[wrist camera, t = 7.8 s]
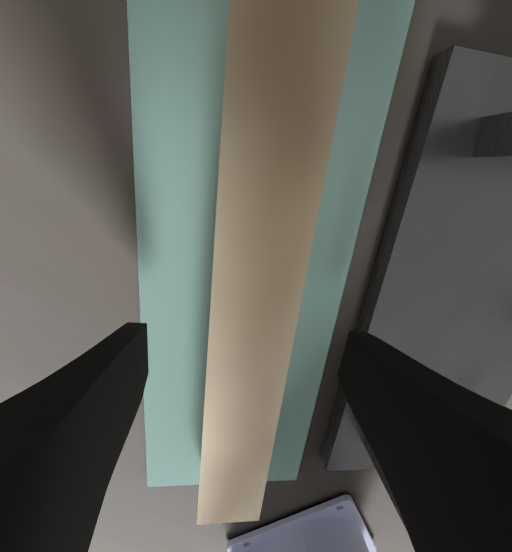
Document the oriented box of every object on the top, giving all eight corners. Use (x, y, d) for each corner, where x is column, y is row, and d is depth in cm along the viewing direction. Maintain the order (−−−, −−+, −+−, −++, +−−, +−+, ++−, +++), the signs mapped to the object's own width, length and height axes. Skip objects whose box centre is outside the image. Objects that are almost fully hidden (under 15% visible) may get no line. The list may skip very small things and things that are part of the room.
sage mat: (149, 477, 17) (147, 486, 16) (128, -72, 8) (122, -87, 8) (294, 471, 18) (296, 480, 18) (409, -7, 9) (419, -15, 9)
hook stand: (320, 455, 18) (371, 604, 12) (433, 56, 10) (738, -100, 4) (458, 450, 19) (566, 581, 13) (647, 98, 12) (1100, 29, 6)
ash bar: (201, 462, 16) (196, 524, 13) (228, 28, 9) (231, -33, 6) (252, 460, 16) (259, 520, 14) (318, 46, 9) (359, -4, 6)
